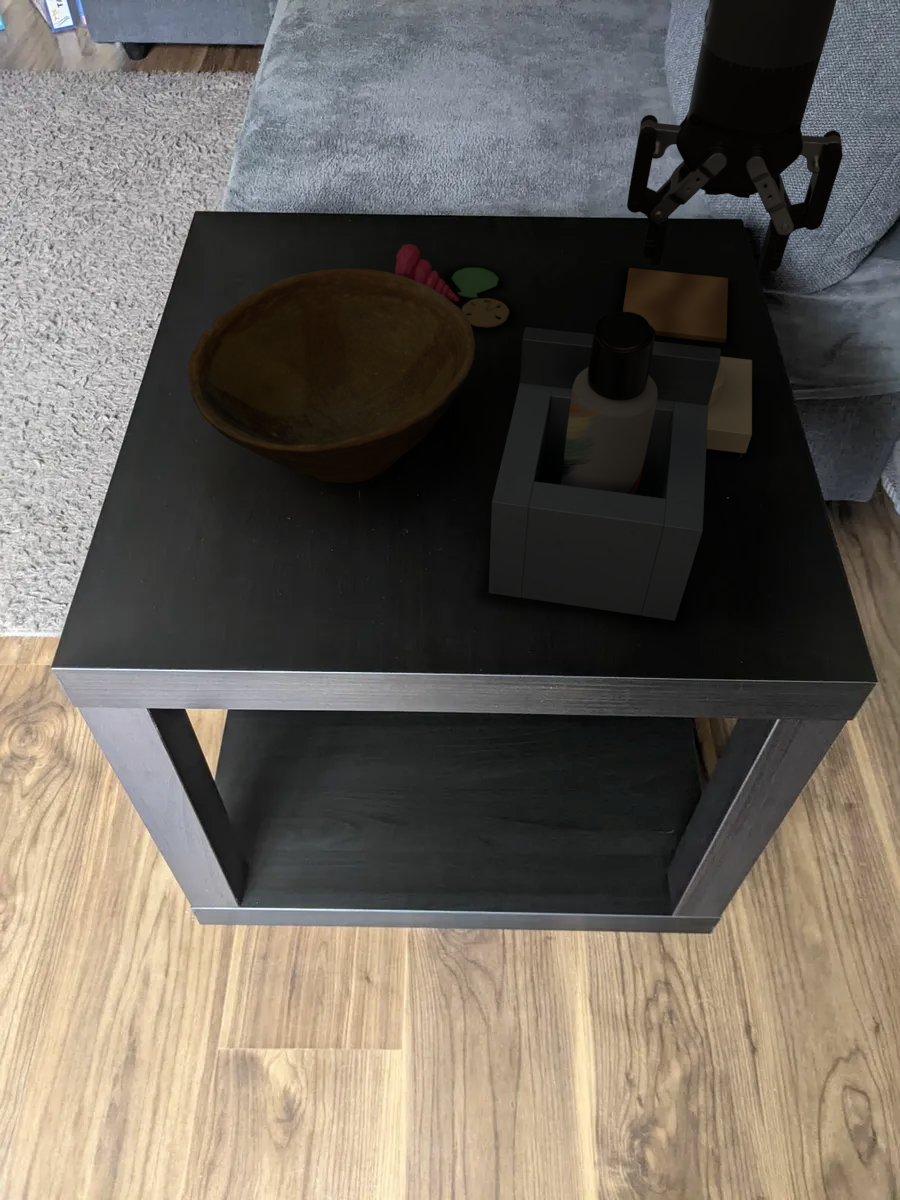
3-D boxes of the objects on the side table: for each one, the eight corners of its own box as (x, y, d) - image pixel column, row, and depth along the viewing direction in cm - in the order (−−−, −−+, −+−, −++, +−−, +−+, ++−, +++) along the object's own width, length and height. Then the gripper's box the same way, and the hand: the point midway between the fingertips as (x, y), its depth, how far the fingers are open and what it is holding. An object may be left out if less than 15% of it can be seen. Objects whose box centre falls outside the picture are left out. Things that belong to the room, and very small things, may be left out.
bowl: (191, 396, 85) (163, 301, 77) (427, 340, 89) (424, 245, 82) (244, 570, 72) (217, 478, 64) (516, 494, 77) (522, 399, 69)
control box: (746, 379, 85) (757, 343, 82) (745, 453, 79) (757, 418, 76) (615, 364, 87) (620, 328, 84) (604, 436, 81) (610, 400, 78)
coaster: (726, 282, 95) (728, 277, 94) (725, 343, 89) (726, 338, 88) (628, 272, 96) (629, 267, 95) (619, 331, 90) (620, 326, 89)
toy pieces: (382, 330, 90) (379, 290, 87) (401, 264, 97) (399, 225, 94) (505, 339, 89) (507, 299, 86) (516, 272, 96) (518, 233, 93)
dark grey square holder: (683, 487, 77) (721, 348, 66) (675, 621, 69) (716, 487, 58) (516, 465, 79) (525, 326, 68) (488, 593, 71) (493, 458, 59)
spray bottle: (638, 529, 74) (686, 316, 58) (606, 576, 71) (648, 365, 56) (575, 501, 76) (605, 288, 60) (541, 546, 73) (563, 334, 57)
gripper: (646, 53, 58) (611, 284, 71) (885, 71, 56) (805, 305, 69) (653, 5, 62) (620, 231, 75) (875, 20, 60) (802, 249, 73)
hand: (708, 266), depth 72 cm, fingers open, 7 cm apart
